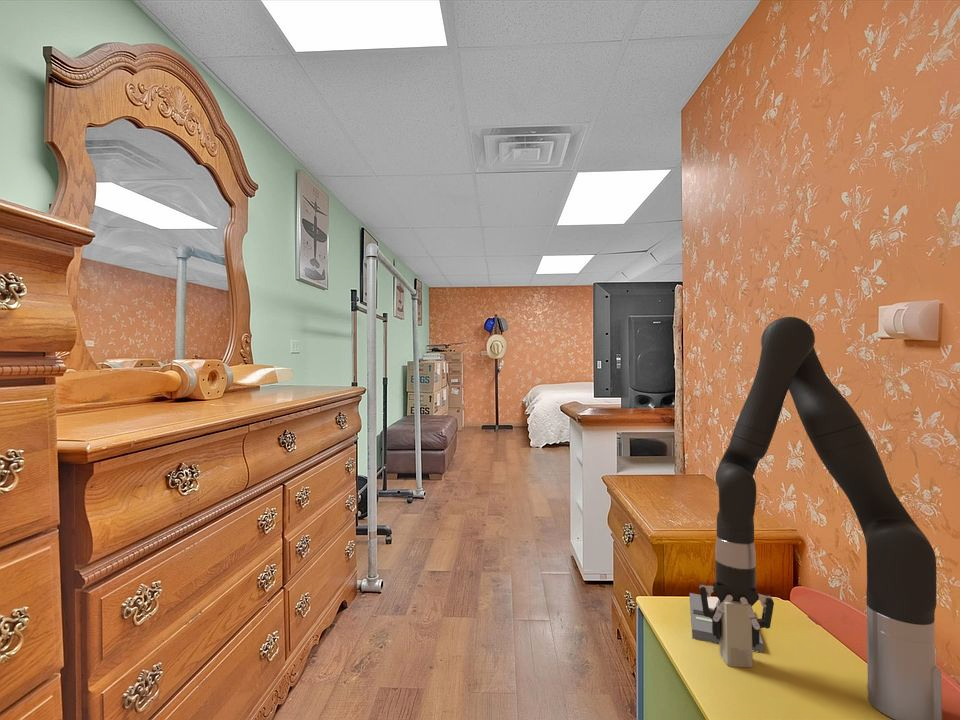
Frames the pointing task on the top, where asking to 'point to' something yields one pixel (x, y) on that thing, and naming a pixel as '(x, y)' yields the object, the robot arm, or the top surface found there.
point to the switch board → (707, 621)
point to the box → (736, 635)
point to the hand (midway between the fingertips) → (735, 641)
